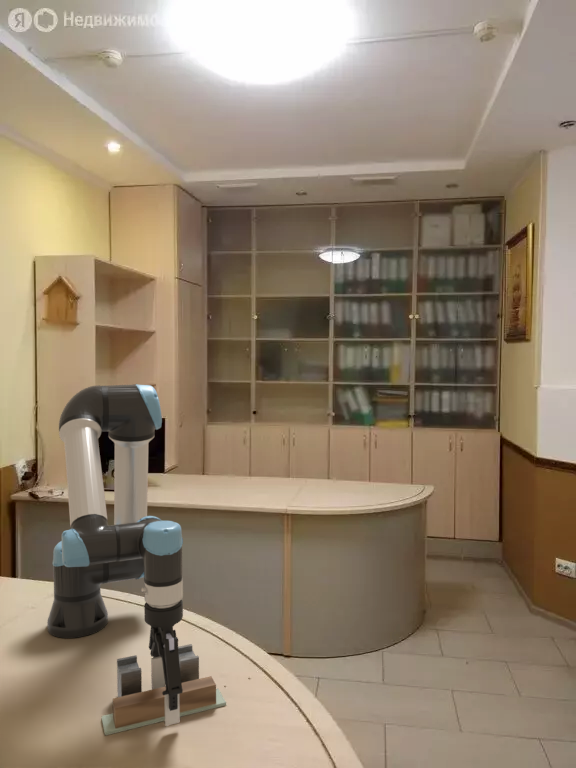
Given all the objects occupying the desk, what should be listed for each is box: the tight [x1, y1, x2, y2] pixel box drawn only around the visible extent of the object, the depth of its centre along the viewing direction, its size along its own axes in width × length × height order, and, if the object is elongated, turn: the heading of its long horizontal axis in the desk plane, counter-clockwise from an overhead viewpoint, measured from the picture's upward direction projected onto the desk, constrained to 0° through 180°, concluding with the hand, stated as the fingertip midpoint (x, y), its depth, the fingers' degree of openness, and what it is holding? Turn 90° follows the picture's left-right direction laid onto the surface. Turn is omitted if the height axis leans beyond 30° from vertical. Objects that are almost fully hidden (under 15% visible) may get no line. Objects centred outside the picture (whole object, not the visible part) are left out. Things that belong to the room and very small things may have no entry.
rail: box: [112, 675, 217, 728], centre depth 120 cm, size 4×20×4 cm, turn 114°
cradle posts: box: [116, 643, 200, 697], centre depth 126 cm, size 6×16×8 cm, turn 114°
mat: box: [101, 688, 227, 736], centre depth 120 cm, size 6×24×1 cm, turn 114°
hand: (165, 704), depth 120 cm, fingers open, 12 cm apart
